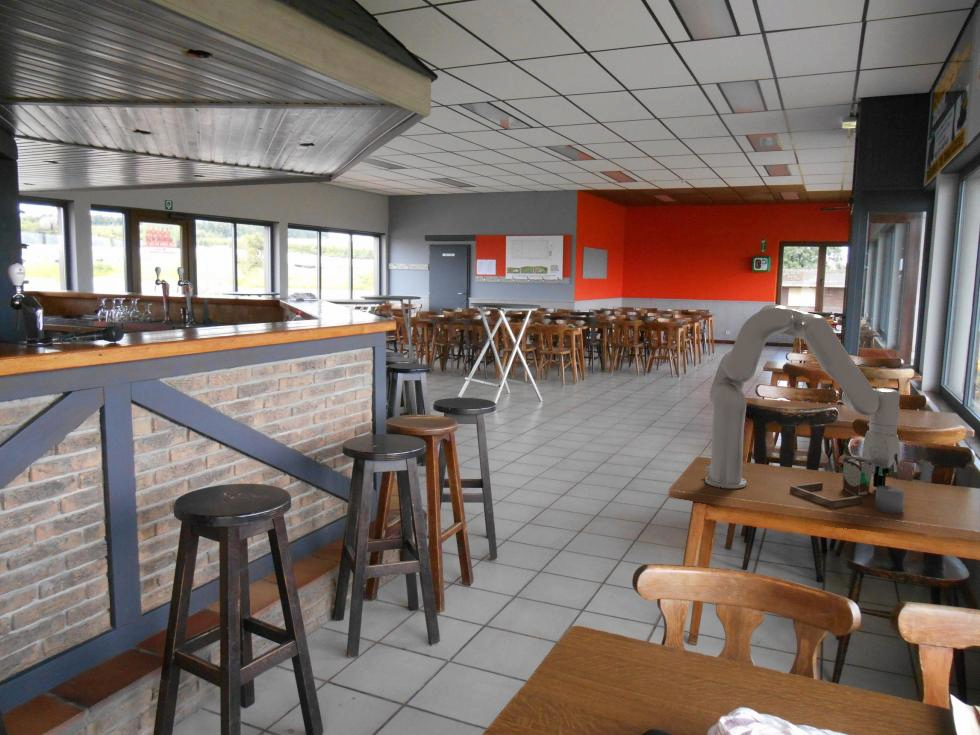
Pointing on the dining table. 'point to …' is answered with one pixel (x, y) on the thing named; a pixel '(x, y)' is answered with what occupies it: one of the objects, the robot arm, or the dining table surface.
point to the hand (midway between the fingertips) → (878, 486)
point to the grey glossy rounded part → (889, 499)
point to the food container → (857, 475)
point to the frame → (804, 492)
